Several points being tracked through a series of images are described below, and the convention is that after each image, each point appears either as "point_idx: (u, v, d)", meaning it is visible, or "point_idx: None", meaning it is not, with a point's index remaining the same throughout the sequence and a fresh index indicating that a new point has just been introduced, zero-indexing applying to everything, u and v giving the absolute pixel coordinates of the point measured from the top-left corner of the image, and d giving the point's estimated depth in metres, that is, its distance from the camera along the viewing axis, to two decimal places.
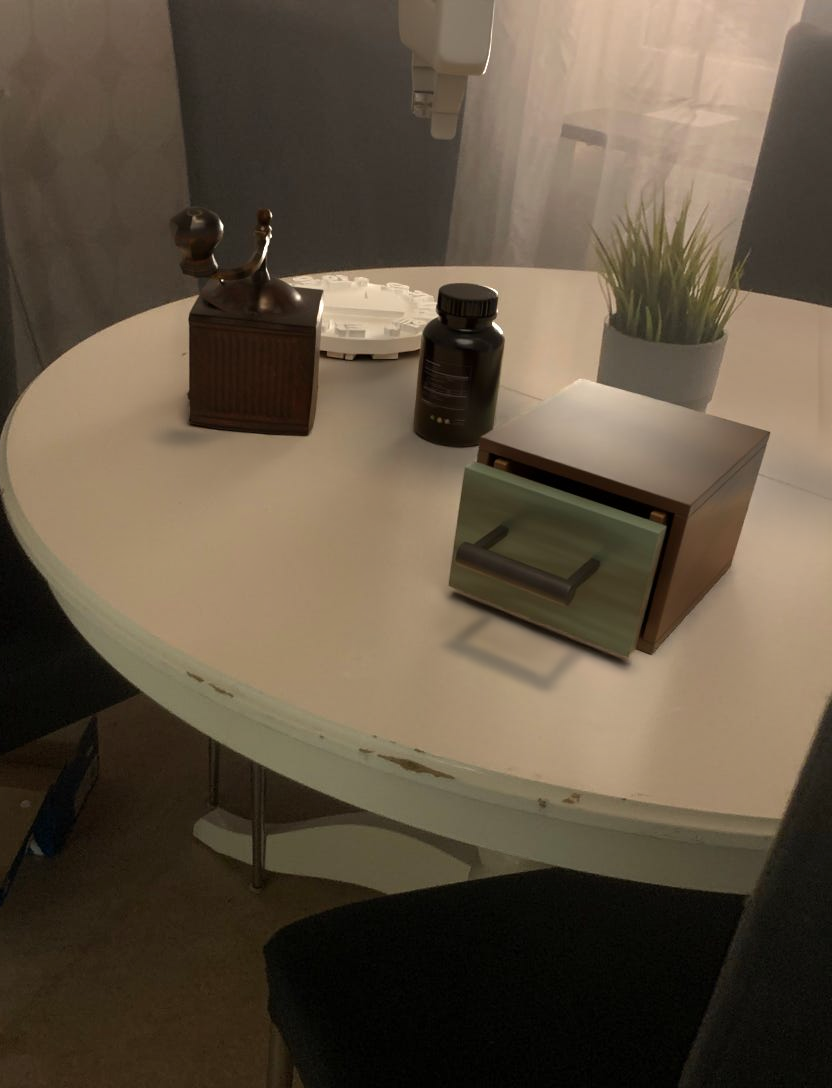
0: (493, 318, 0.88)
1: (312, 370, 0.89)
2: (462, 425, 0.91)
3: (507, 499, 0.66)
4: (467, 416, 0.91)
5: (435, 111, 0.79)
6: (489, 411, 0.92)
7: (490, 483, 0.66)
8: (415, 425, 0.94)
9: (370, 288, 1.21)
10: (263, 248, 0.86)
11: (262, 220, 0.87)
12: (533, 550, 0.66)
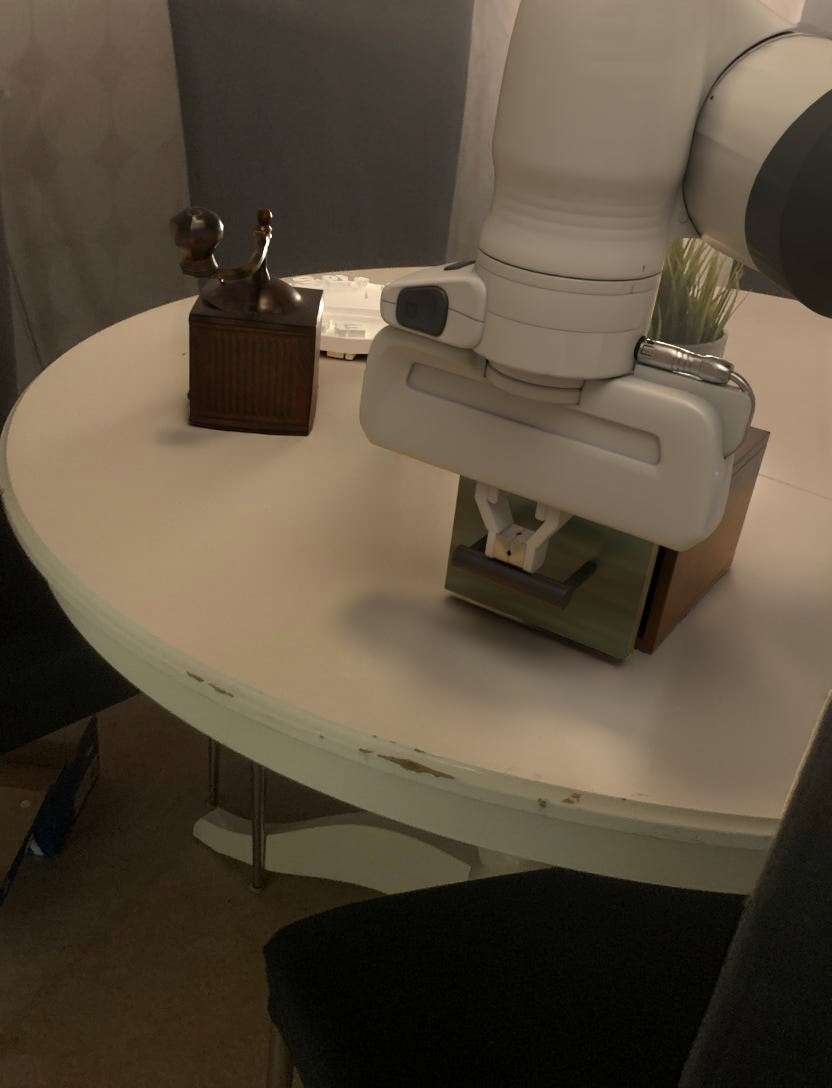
0: None
1: (312, 370, 0.89)
2: None
3: None
4: None
5: (538, 546, 0.60)
6: None
7: None
8: None
9: (370, 288, 1.21)
10: (263, 248, 0.86)
11: (262, 220, 0.87)
12: None
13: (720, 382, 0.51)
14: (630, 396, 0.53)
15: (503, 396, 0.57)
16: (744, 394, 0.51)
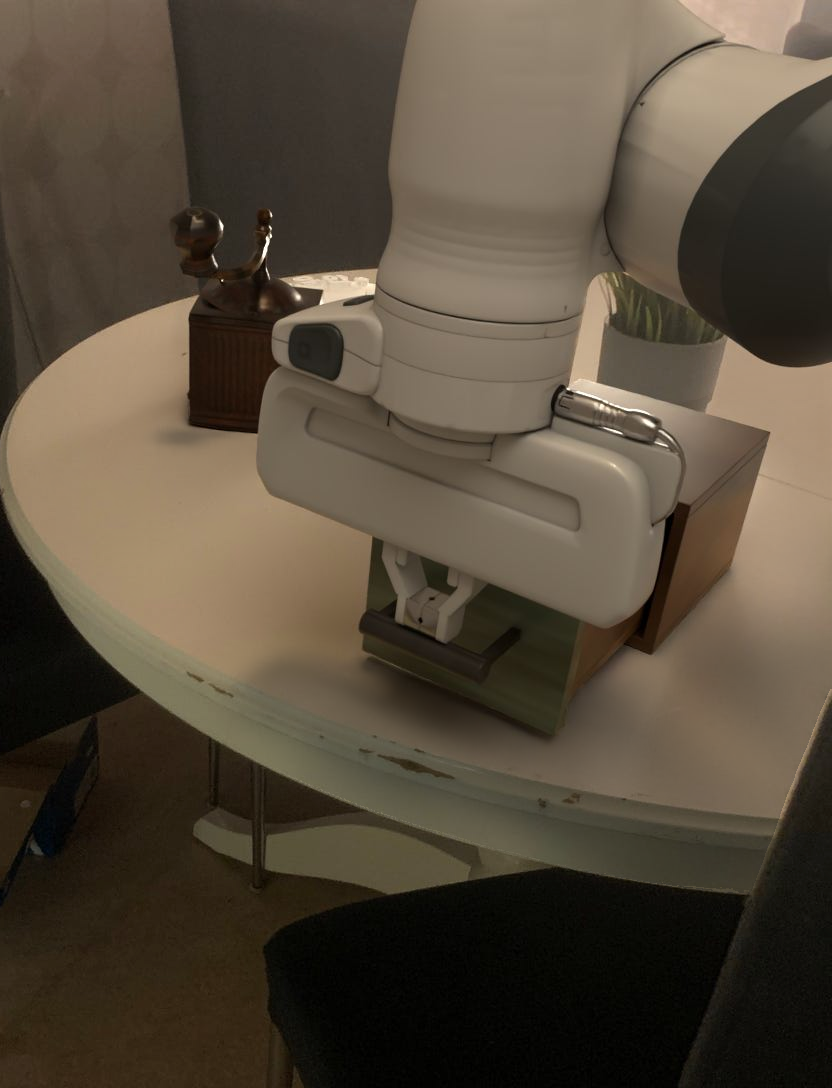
0: None
1: None
2: None
3: (420, 559, 0.59)
4: None
5: None
6: None
7: None
8: None
9: (370, 288, 1.21)
10: (263, 248, 0.86)
11: (262, 220, 0.87)
12: None
13: (646, 440, 0.45)
14: (546, 453, 0.46)
15: (409, 448, 0.50)
16: (673, 454, 0.44)
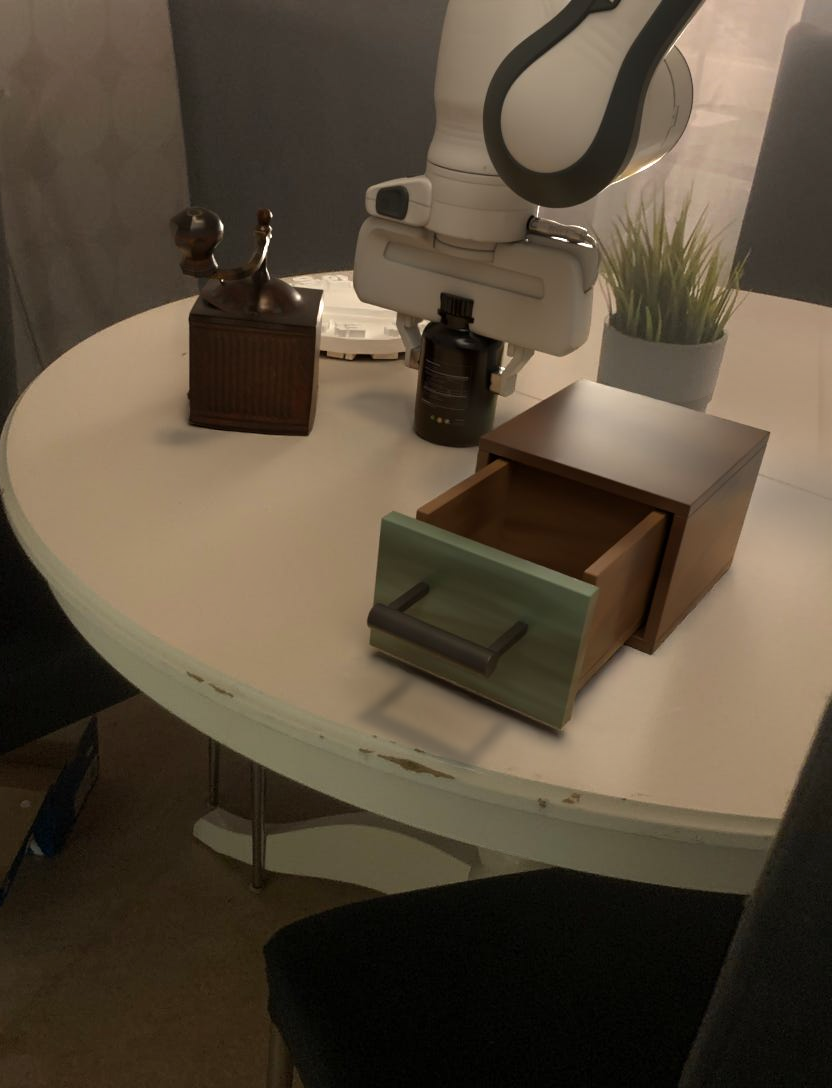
0: None
1: (312, 370, 0.89)
2: (462, 425, 0.91)
3: (427, 554, 0.60)
4: (467, 417, 0.91)
5: (509, 376, 0.89)
6: (489, 412, 0.92)
7: (409, 536, 0.60)
8: (415, 425, 0.94)
9: None
10: (263, 248, 0.86)
11: (262, 220, 0.87)
12: (456, 610, 0.60)
13: (579, 241, 0.81)
14: (524, 253, 0.83)
15: (446, 260, 0.87)
16: (593, 248, 0.81)
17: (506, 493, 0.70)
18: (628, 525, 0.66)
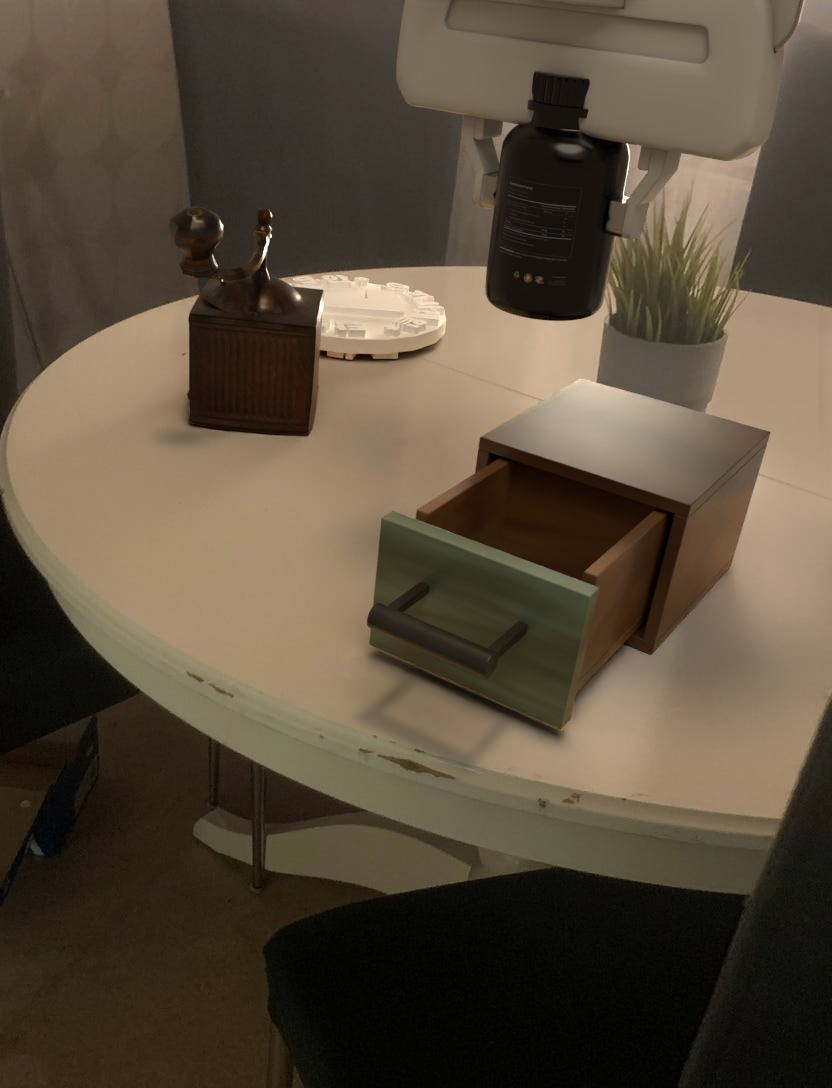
0: None
1: (312, 370, 0.89)
2: (562, 285, 0.60)
3: (427, 554, 0.60)
4: (570, 272, 0.60)
5: (639, 204, 0.57)
6: (602, 266, 0.60)
7: (409, 536, 0.60)
8: (488, 292, 0.63)
9: (370, 288, 1.21)
10: (263, 248, 0.86)
11: (262, 220, 0.87)
12: (456, 610, 0.60)
13: None
14: None
15: (545, 18, 0.56)
16: None
17: (506, 493, 0.70)
18: (628, 525, 0.66)
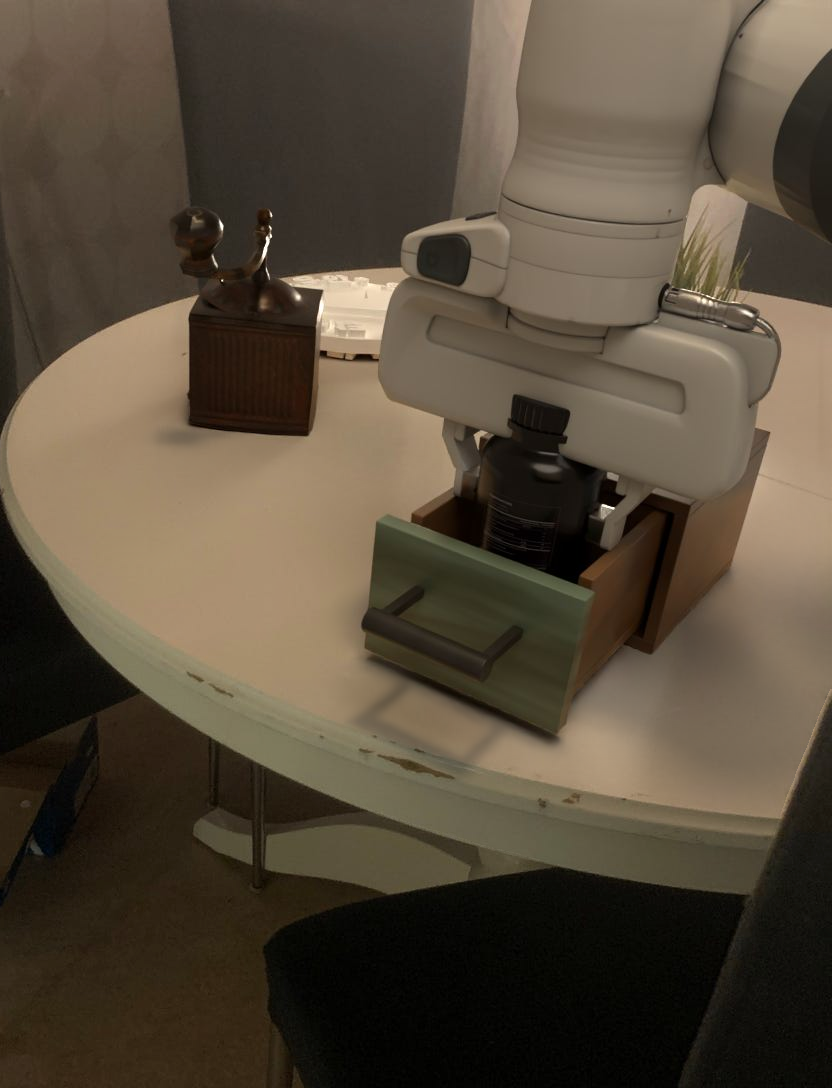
0: None
1: (312, 370, 0.89)
2: None
3: (422, 557, 0.59)
4: None
5: (617, 522, 0.58)
6: (581, 568, 0.61)
7: (404, 539, 0.59)
8: None
9: (370, 288, 1.21)
10: (263, 248, 0.86)
11: (262, 220, 0.87)
12: (451, 613, 0.60)
13: (746, 328, 0.51)
14: (654, 343, 0.52)
15: (524, 348, 0.56)
16: (770, 339, 0.50)
17: None
18: (624, 528, 0.66)
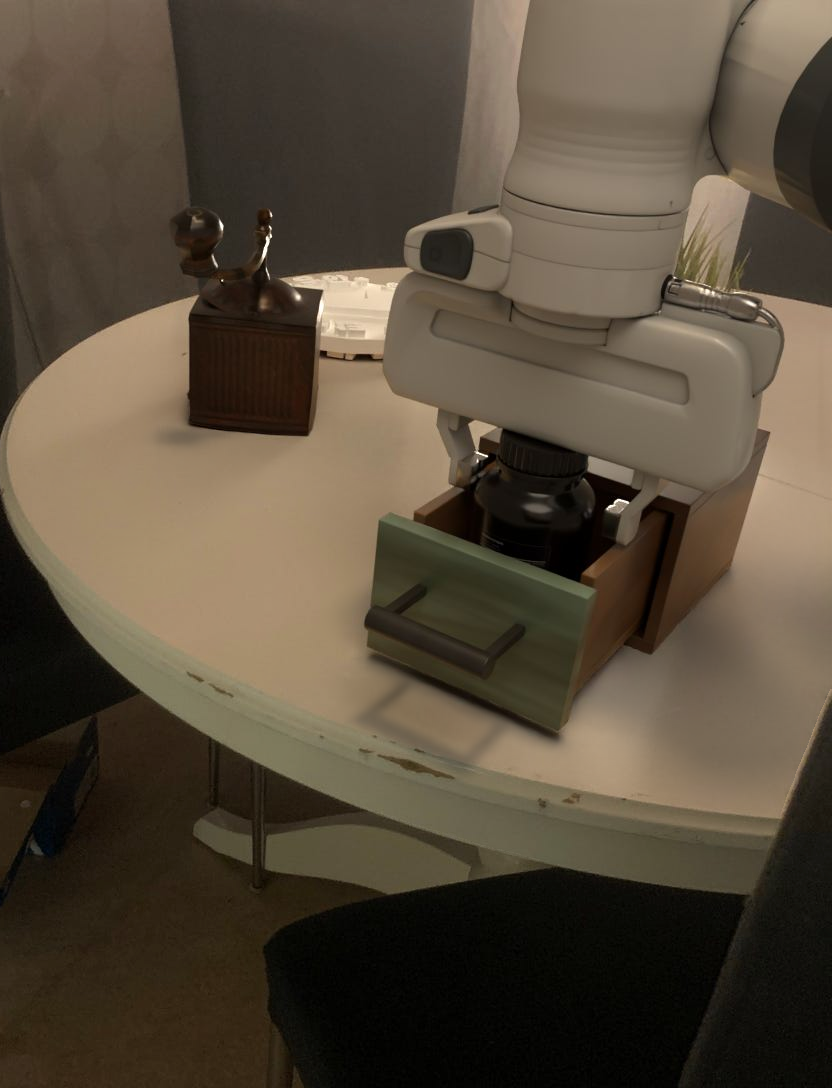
0: (583, 476, 0.59)
1: (312, 370, 0.89)
2: None
3: (425, 556, 0.59)
4: None
5: (633, 517, 0.58)
6: None
7: (406, 538, 0.60)
8: None
9: (370, 288, 1.21)
10: (263, 248, 0.86)
11: (262, 220, 0.87)
12: (454, 612, 0.60)
13: (749, 318, 0.51)
14: (658, 335, 0.52)
15: (528, 341, 0.56)
16: (773, 329, 0.51)
17: None
18: None
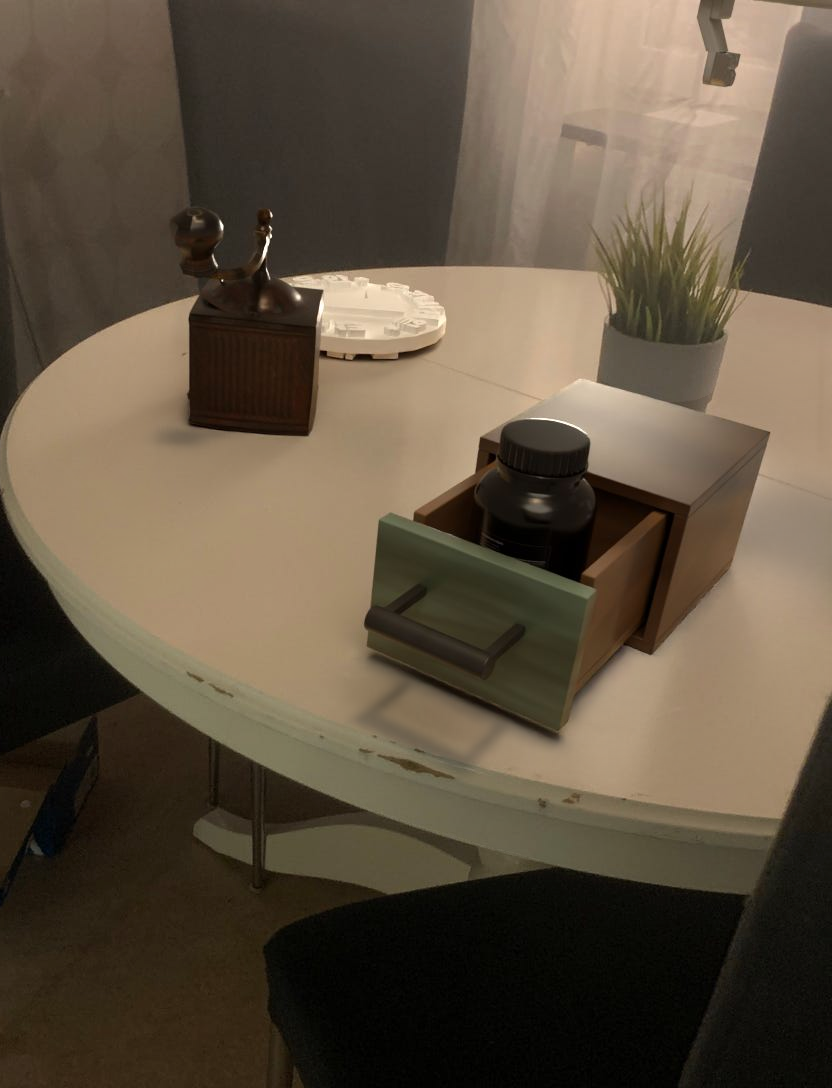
0: (583, 476, 0.59)
1: (312, 370, 0.89)
2: None
3: (425, 556, 0.59)
4: None
5: None
6: None
7: (406, 538, 0.60)
8: None
9: (370, 288, 1.21)
10: (263, 248, 0.86)
11: (262, 220, 0.87)
12: (454, 612, 0.60)
13: None
14: None
15: None
16: None
17: None
18: (626, 527, 0.66)
